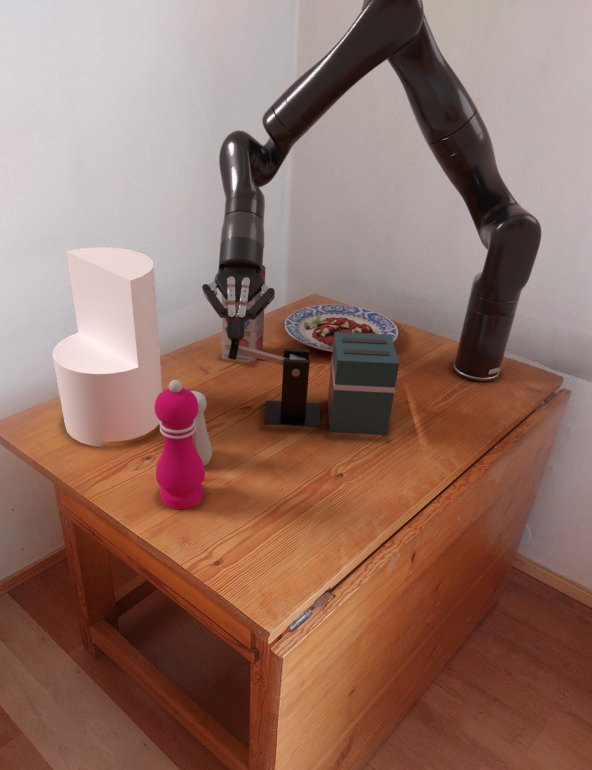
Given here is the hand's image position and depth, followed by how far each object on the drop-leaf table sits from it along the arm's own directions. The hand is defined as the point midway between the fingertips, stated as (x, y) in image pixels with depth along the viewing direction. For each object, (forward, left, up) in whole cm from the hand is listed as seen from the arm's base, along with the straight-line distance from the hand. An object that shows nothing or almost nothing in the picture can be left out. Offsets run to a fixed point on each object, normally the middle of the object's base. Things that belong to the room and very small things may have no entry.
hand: (235, 340), depth 107 cm
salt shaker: (+16, 0, -15) cm, 22 cm away
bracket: (-4, +10, -15) cm, 18 cm away
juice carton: (-23, -9, -15) cm, 29 cm away
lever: (-2, +5, -4) cm, 7 cm away
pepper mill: (+24, +2, -15) cm, 29 cm away
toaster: (-8, +21, -15) cm, 27 cm away
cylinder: (+10, -19, -15) cm, 26 cm away
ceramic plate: (-42, +7, -15) cm, 45 cm away
